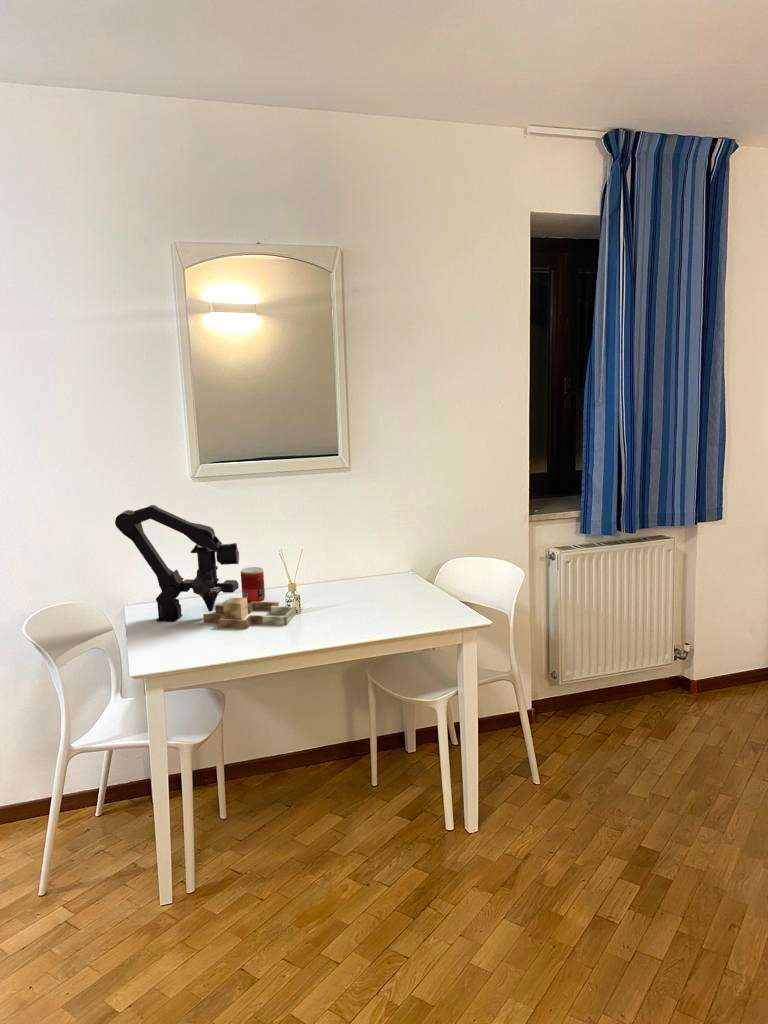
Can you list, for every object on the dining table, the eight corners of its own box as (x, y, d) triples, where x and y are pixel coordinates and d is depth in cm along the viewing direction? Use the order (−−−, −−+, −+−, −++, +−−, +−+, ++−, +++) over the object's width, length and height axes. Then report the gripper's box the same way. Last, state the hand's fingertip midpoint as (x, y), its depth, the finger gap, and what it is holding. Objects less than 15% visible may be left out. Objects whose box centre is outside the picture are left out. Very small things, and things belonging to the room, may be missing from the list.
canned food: (263, 602, 266) (261, 572, 264) (240, 603, 266) (238, 572, 264) (266, 596, 273) (265, 566, 271) (244, 596, 273) (242, 567, 271)
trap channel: (198, 626, 242) (197, 619, 241) (221, 607, 261) (221, 600, 261) (282, 629, 237) (282, 621, 236) (300, 609, 256) (300, 602, 256)
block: (224, 620, 247) (223, 603, 246) (230, 614, 253) (229, 597, 252) (241, 621, 246) (240, 603, 245) (248, 615, 252) (247, 598, 251)
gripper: (169, 571, 242) (173, 618, 245) (225, 572, 239) (228, 619, 242) (184, 562, 253) (187, 607, 256) (237, 563, 250) (240, 608, 252)
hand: (210, 611), depth 251 cm, fingers closed
